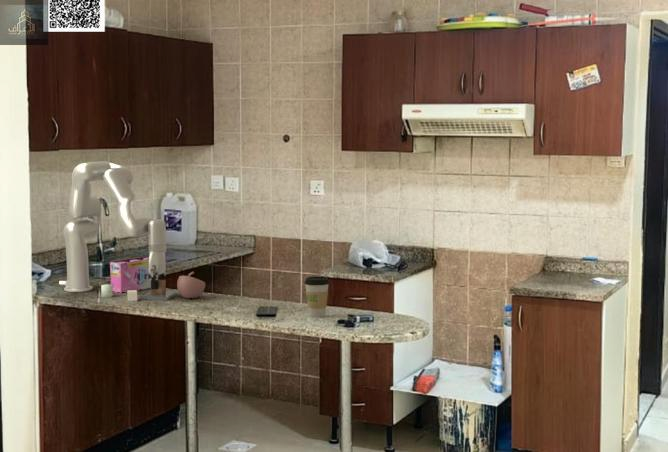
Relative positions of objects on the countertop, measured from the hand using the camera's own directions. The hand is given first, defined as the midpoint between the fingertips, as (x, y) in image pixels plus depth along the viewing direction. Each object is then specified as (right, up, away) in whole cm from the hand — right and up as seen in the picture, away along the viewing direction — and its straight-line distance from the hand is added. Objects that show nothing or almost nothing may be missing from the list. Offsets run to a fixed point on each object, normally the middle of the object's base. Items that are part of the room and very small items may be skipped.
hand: (158, 287), depth 428 cm
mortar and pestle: (+15, -5, -3) cm, 16 cm away
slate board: (0, -4, +1) cm, 4 cm away
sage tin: (-23, -4, +3) cm, 23 cm away
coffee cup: (+70, -9, -42) cm, 82 cm away
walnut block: (0, -3, 0) cm, 3 cm away
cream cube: (-10, -5, -6) cm, 13 cm away
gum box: (-14, -2, +21) cm, 26 cm away
